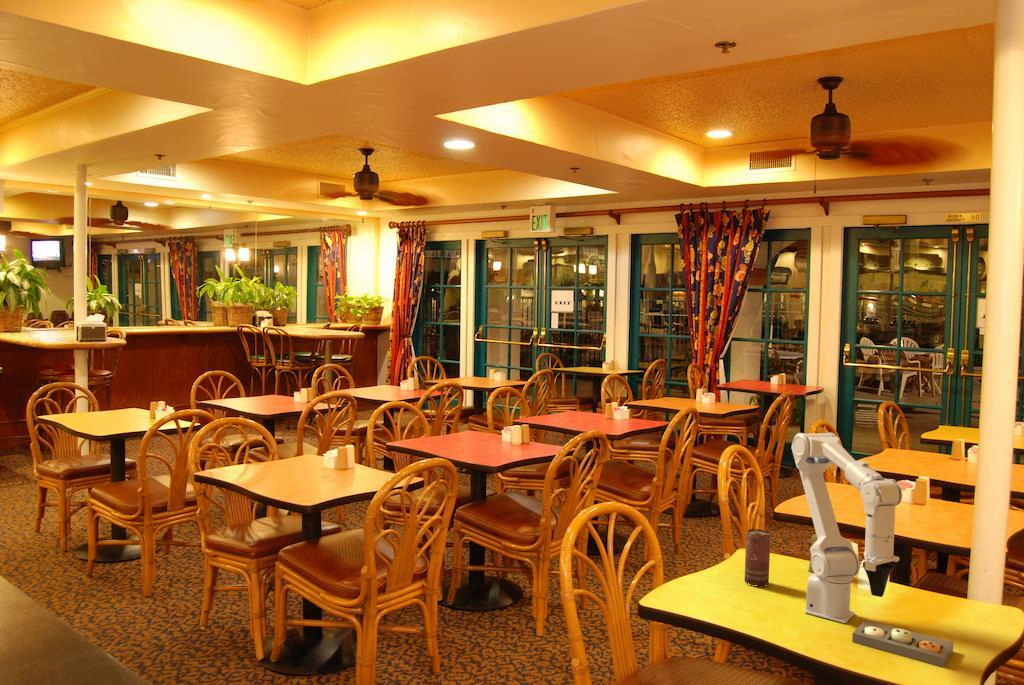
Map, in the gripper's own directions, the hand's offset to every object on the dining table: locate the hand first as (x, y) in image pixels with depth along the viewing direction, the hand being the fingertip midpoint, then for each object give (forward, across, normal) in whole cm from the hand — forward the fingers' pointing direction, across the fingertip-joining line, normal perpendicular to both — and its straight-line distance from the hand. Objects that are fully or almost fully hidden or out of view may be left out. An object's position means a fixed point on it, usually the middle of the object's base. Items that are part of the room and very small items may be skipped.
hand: (877, 595), depth 172 cm
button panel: (+10, +1, -5) cm, 12 cm away
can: (+10, +17, +34) cm, 39 cm away
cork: (+10, +37, +24) cm, 45 cm away
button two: (+9, 0, -5) cm, 10 cm away
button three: (+10, 0, -11) cm, 15 cm away
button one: (+10, 0, 0) cm, 10 cm away
